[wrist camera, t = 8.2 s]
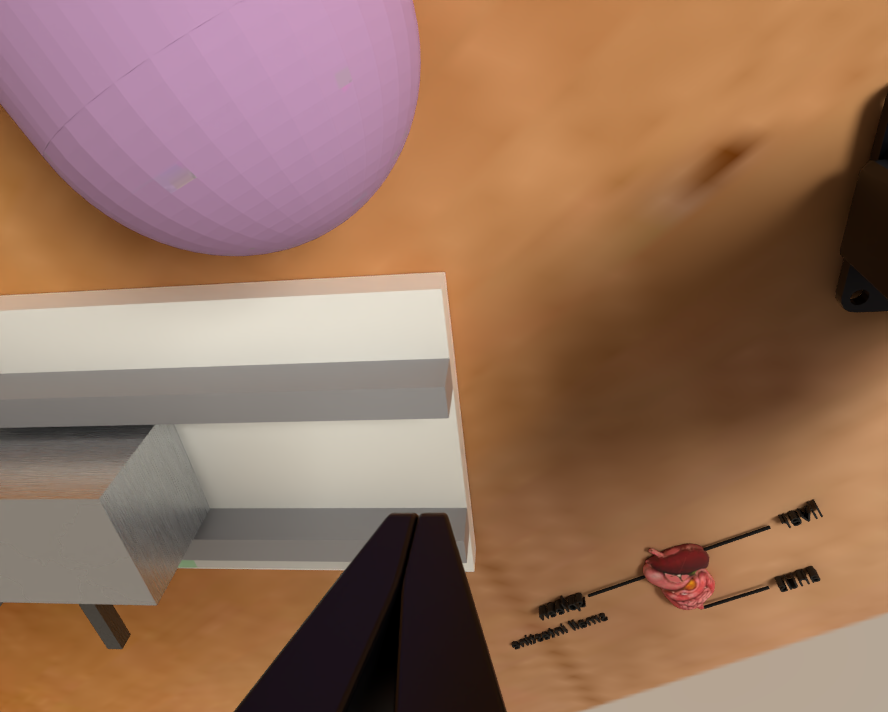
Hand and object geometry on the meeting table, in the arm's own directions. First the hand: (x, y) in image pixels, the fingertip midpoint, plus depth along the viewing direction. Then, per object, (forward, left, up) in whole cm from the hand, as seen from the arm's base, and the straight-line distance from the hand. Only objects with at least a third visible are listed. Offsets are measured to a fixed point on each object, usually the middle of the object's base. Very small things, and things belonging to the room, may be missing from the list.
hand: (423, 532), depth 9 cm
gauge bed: (+14, +8, -12) cm, 20 cm away
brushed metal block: (+14, +10, -11) cm, 20 cm away
